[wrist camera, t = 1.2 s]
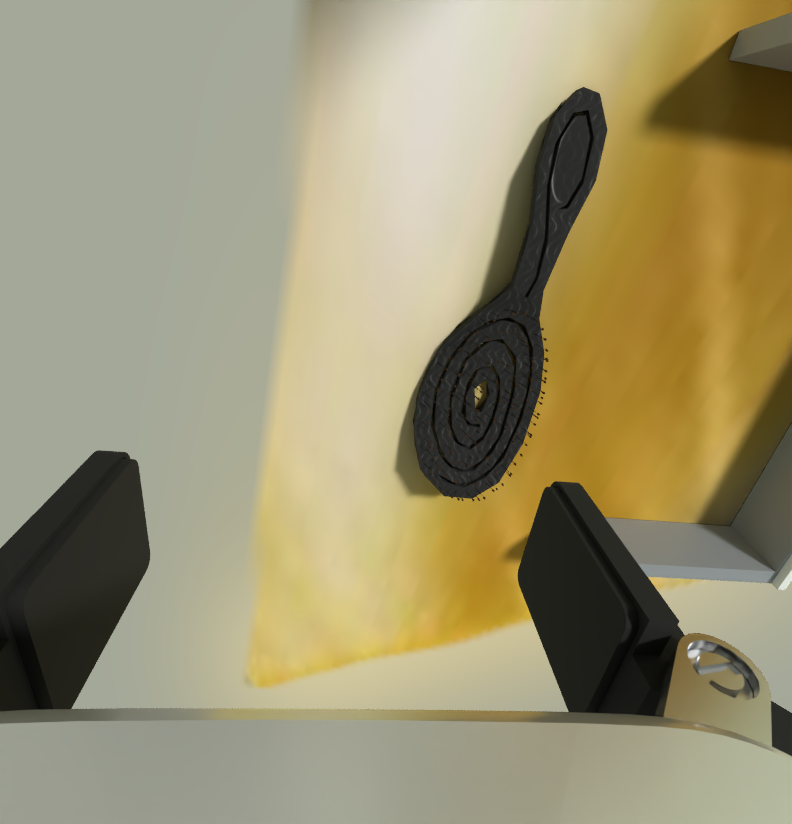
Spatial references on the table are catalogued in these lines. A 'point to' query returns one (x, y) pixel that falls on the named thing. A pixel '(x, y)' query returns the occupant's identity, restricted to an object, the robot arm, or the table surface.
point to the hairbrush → (508, 323)
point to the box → (780, 480)
